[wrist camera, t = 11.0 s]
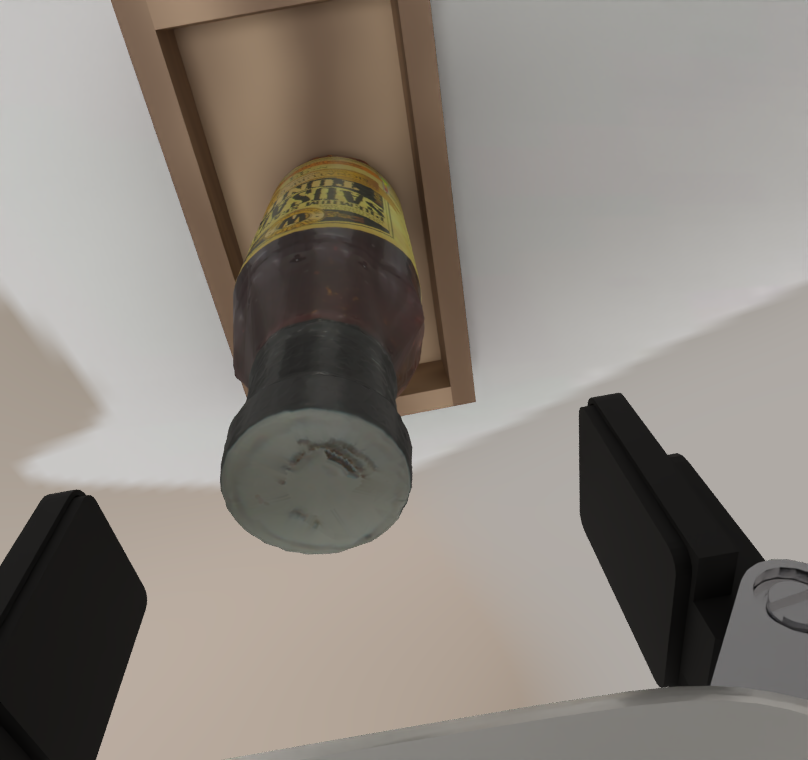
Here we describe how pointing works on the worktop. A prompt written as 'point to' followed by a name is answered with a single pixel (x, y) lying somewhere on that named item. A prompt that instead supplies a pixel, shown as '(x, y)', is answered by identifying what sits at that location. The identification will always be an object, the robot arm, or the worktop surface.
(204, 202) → the bottle tray
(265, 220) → the sauce bottle
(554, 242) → the worktop surface
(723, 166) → the worktop surface
